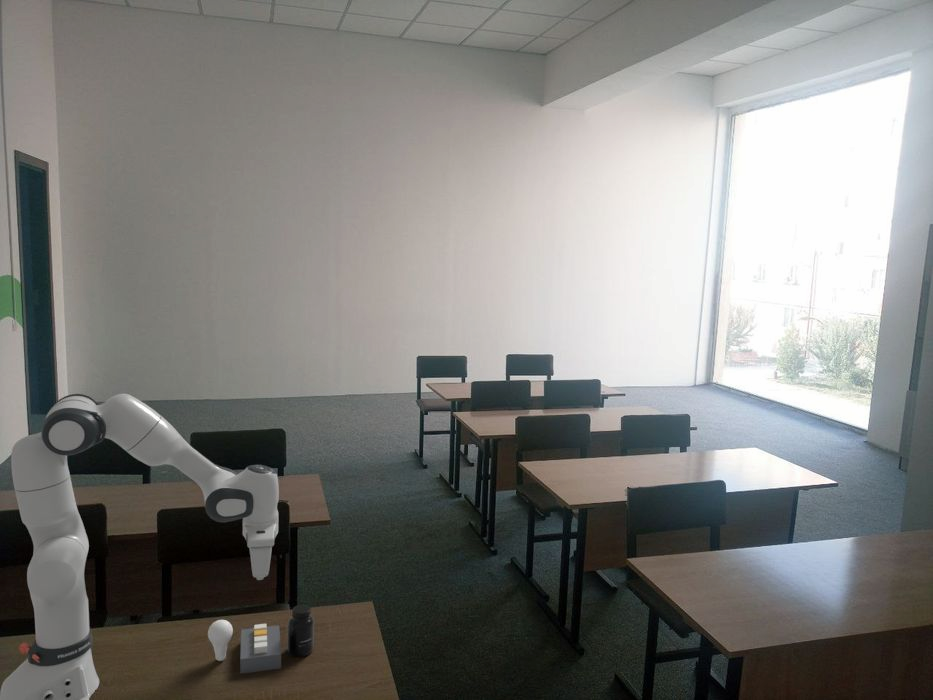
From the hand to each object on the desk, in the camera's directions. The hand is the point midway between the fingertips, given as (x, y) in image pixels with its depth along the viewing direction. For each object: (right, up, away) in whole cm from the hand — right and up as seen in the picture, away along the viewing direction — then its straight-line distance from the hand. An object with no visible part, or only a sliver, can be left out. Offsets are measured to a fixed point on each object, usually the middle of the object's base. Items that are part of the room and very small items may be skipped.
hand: (259, 577), depth 182 cm
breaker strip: (-2, -21, +7) cm, 22 cm away
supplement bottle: (+9, -22, +6) cm, 25 cm away
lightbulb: (-10, -22, +1) cm, 24 cm away
